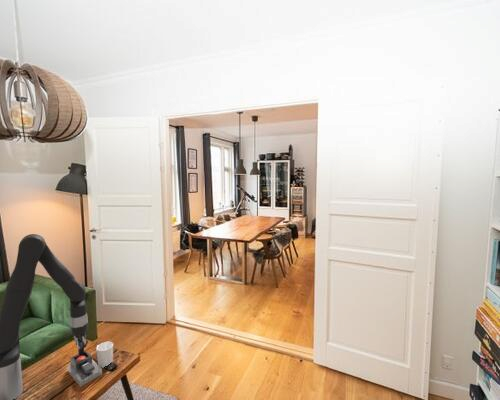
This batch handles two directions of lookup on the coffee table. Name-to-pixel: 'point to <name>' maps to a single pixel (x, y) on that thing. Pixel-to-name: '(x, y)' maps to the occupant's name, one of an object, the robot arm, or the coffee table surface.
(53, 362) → the coffee table surface
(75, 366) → the grey switch box
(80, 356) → the button
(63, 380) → the coffee table surface
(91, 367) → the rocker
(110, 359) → the white cup
